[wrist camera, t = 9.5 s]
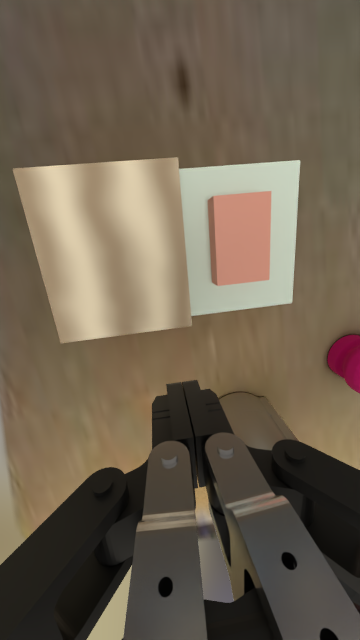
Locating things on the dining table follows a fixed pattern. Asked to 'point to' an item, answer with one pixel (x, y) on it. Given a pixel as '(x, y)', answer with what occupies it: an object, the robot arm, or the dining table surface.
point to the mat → (284, 204)
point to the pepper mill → (346, 360)
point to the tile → (240, 237)
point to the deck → (109, 245)
